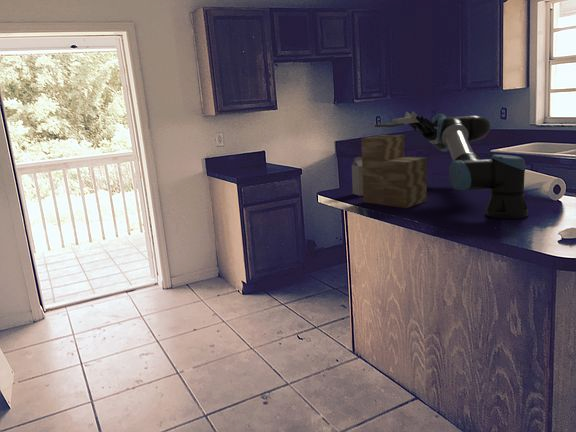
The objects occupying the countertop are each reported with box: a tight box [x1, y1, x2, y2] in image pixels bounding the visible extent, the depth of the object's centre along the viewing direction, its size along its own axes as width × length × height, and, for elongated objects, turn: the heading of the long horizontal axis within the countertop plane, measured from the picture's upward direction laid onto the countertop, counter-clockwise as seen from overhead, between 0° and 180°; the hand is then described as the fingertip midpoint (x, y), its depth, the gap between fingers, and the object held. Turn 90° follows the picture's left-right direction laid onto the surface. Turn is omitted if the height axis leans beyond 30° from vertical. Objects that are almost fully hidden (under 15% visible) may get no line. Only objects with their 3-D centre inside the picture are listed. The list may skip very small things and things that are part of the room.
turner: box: [374, 116, 416, 128], centre depth 236 cm, size 27×10×3 cm, turn 132°
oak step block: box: [361, 134, 428, 209], centre depth 228 cm, size 16×24×30 cm, turn 41°
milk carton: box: [351, 156, 363, 197], centre depth 252 cm, size 7×7×19 cm
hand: (409, 114), depth 240 cm, fingers closed on turner, 3 cm apart
